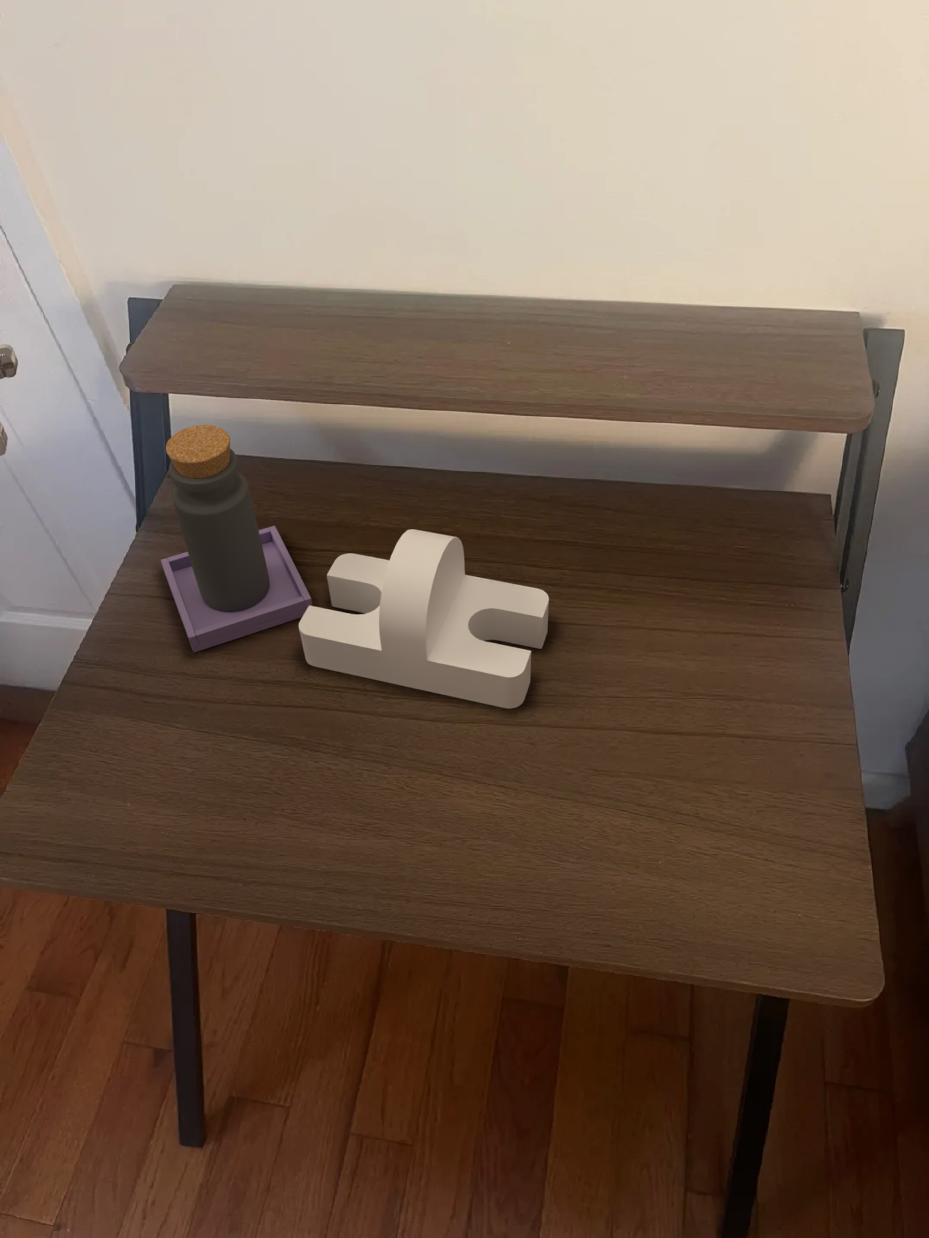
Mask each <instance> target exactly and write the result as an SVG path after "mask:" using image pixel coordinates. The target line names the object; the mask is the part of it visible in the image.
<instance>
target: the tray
mask: <svg viewBox="0 0 929 1238" xmlns="http://www.w3.org/2000/svg"><path fill="white" fill-rule="evenodd" d="M258 530H259V534H260V539H261V543H262V547H263V552H264V556H265V561H266V565H267V570H268V575H269V581H270V586H269V590H268V592H267V594H266V595H265V597H264V598H263V599H262V600H261V601H260V602H258V603H257V604H256V605H254V606H252V607H250V608H247V609H244V610H241V611H235V612H224V611H218V610H215V609H213V608H211V607H209V606H208V605H207V604H206V603H205V602H204V600H203V599H202V596H201V594H200V591H199V588H198V584H197V581H196V578H195V575H194V571H193V568H192V565H191V561H190V558H189V554H188V551H185V552H182V553H178V554H175V555H171V556H168V557H165V558H162V559H160V563H161V565H162V568H163V572H164V575H165V578H166V581H167V583H168V586H169V589H170V591H171V594H172V597H173V600H174V603H175V605H176V609H177V612H178V615H179V617H180V620H181V622H182V625H183V627H184V630H185V633H186V636H187V638H188V641H189V645H190V647H191V650H192V652H193V653H197V652H200V651H204V650H206V649H209V648H213V647H215V646H218V645H219V646H220V645H221V644H225V643H228V642H230V641H234V640H237V639H240V638H242V637H243V638H244V637H246V636H250V635H252V634H255V633H258V632H261V631H265V630H267V629H271V628H273V627H277V626H279V625H283V624H286V623H289V622H292V621H295V620H298V619H302V617H303V615H304V613H305V612H306V610H307V608H308V606H309V605H310V606H314V605H313V600H312V597H311V595H310V593H309V591H308V588H307V587H306V584H305V583H304V581H303V579H302V577H301V575H300V573H299V571H298V569H297V567H296V565H295V563H294V561H293V559H292V557H291V555H290V553H289V551H288V549H287V546H286V544H285V542H284V541H283V539H282V537H281V534H280V533H279V531H278V529H277V526H276V525H271V526H269V527H265V528H262V529H258Z"/></svg>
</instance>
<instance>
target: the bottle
mask: <svg viewBox="0 0 929 1238" xmlns="http://www.w3.org/2000/svg"><path fill="white" fill-rule="evenodd" d="M165 453H166V454H167V456H168V458H169V459H170V462H169V466H168V473H169V476H170V478H171V481H172V483H173V485H175V487H174V488H173V491H172V495H171V496H172V502H173V506H174V510H175V515H176V517H177V520H178V525H179V528H180V531H181V534H182V537H183V540H184V544H185V547H186V550H187V551H186V552H188V554H189V558H190V561H191V565H192V568H193V571H194V575H195V578H196V581H197V584H198V588H199V591H200V594H201V596H202V599H203V600H204V602H205V603H206V604H207V605H208V606H209V607H211V608H213V609H215V610H218V611H224V612H235V611H241V610H244V609H247V608H250V607H252V606H254V605H256V604H257V603H258V602H260V601H261V600H262V599H263V598H264V597H265V595H266V594H267V592H268V590H269V586H270V581H269V575H268V570H267V565H266V561H265V556H264V552H263V547H262V543H261V539H260V534H259V530H260V529H259V525H258V521H257V517H256V513H255V507H254V505H253V500H252V499H253V498H252V495H251V491H250V487H249V483H248V482H247V479H246V478H245V477H244V475H243V474H242V473H240V472H239V470H240V469H239V468H240V466H239V465H240V464H239V460H238V456H237V454H236V453H235V451H234V450H233V449H232V448H231V437H230V435H229V433H228V432H227V431H226V430H225V429H223V428H222V427H220V426H216V425H210V424H199V425H198V424H197V425H192V426H188V427H185V428H183V429H180V430H179V431H177V432H176V433H174V434H173V435H172V436H171V437H170V438H169V439H168V440H167V442H166V445H165Z"/></svg>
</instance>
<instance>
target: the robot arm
mask: <svg viewBox="0 0 929 1238" xmlns="http://www.w3.org/2000/svg"><path fill="white" fill-rule="evenodd" d="M18 365H19V360H18V357H17V355H16V352H15V350H14V347H12V346H11V345H10V344H6V343H3V344H0V380H3V379H5V378H8V379H10V378H13V377H15V376H16V375H17V371H18ZM4 428H5V427H4V425H3V423H2V422H1V421H0V457H2V456H4V455H6V451H7V446H8V438H9V437H8V434H7V433H6V431H5V429H4Z"/></svg>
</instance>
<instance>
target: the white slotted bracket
mask: <svg viewBox="0 0 929 1238" xmlns="http://www.w3.org/2000/svg"><path fill="white" fill-rule="evenodd" d="M465 566H466V565H465V552H464V545H463V543H462V539H460V538H459V537H457V536H452V535H448V534H442V533H437V532H432V531H425V530H420V529H414V528H412V529H411V528H410V529H407V530H405V532H403V533H402V535H401V536H400V538H399V539H398V540H397V542H396V544H395V547H394V548H393V551H392V553H391V555H390V557H389V559H384V558H379V557H374V556H368V555H363V554H358V553H344V554H340V555H339V556H337V558H335V560H334V562H333V563H332V565H331V567H330V568H329V570H328V572H327V574H326V580H327V585H328V586H327V587H328V591H329V597H330V604H331V607H334V608H338V609H342V610H347V611H353V612H358V613H361V614H354V613H347V612H343V611H338V610H334V609H328V608H324V607H319V606H314V605H313V606H310V605H309V606H308V608H307V610H306V612H305V613H304V615H303V617H301V618H300V619H299V620H300V621H299V622H298V630H299V635H300V640H301V645H302V650H303V654H304V659H305V661H306V663H307V664H308V665H310V666H312V667H316V668H320V669H324V670H330V671H332V672H333V671H334V672H339V673H343V674H348V675H351V676H356V677H362V678H366V679H370V680H375V681H380V682H384V683H389V684H393V685H397V686H403V687H407V688H411V689H416V690H421V691H424V692H430V693H433V694H439V695H444V696H447V697H453V698H457V699H461V700H466V701H471V702H475V703H479V704H484V705H489V706H493V707H498V708H503V709H509V710H510V709H515V708H518V707H520V706H521V705H522V704H523V703H524V701H525V700H526V696H527V693H528V690H529V688H530V684H531V674H532V673H531V672H532V669H531V668H532V650H530V649H524V648H519V647H516V646H515V647H514V646H510V645H506V644H505V645H504V644H499V643H495V642H490V641H492V640H493V641H498V642H499V641H500V642H503V643H504V642H505V643H510V644H514V645H519V646H524V647H530V648H534V649H539V650H542V649H543V646H544V643H545V641H546V637H547V635H548V629H549V627H548V625H549V604H550V603H549V602H550V597H549V594H548V593H547V592H546V591H544V590H543V589H540V588H537V587H533V586H532V587H531V586H527V585H521V584H515V583H510V582H505V581H501V580H495V579H490V578H484V577H478V576H473V575H469V574H466V569H465V568H466V567H465Z"/></svg>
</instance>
